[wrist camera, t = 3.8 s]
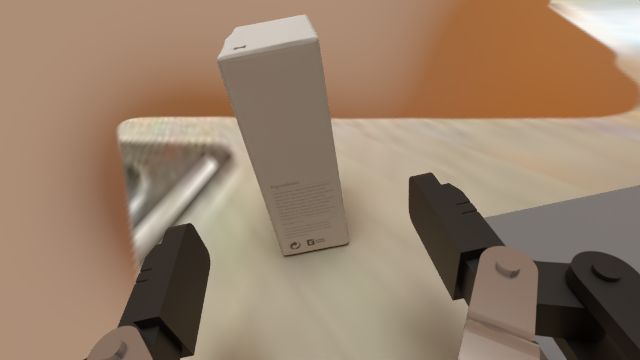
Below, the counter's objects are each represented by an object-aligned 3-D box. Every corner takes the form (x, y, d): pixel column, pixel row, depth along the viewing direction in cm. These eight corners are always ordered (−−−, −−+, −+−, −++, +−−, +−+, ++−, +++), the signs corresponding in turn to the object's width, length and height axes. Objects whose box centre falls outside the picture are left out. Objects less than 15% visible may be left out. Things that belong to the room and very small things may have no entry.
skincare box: (351, 245, 19) (320, 36, 12) (282, 258, 19) (210, 58, 12) (336, 185, 24) (308, 11, 17) (281, 196, 24) (230, 27, 17)
